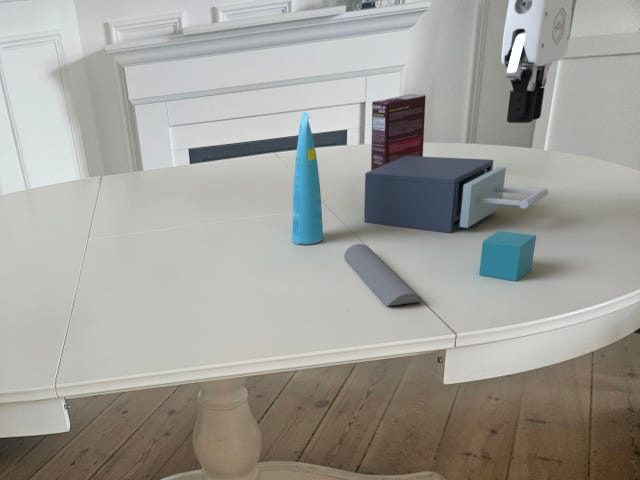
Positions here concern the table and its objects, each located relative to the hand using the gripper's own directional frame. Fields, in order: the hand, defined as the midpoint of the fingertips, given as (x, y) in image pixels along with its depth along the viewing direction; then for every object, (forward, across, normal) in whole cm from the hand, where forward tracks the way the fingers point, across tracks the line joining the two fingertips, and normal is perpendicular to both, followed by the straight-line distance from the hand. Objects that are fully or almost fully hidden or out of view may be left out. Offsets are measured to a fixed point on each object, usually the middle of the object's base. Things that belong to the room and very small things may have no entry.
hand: (523, 119), depth 87 cm
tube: (+15, -18, +23) cm, 33 cm away
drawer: (+14, 0, +7) cm, 16 cm away
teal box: (+15, -18, -7) cm, 24 cm away
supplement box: (+15, +17, +28) cm, 36 cm away
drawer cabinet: (+15, 0, +13) cm, 20 cm away
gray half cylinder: (+15, -27, +5) cm, 32 cm away
